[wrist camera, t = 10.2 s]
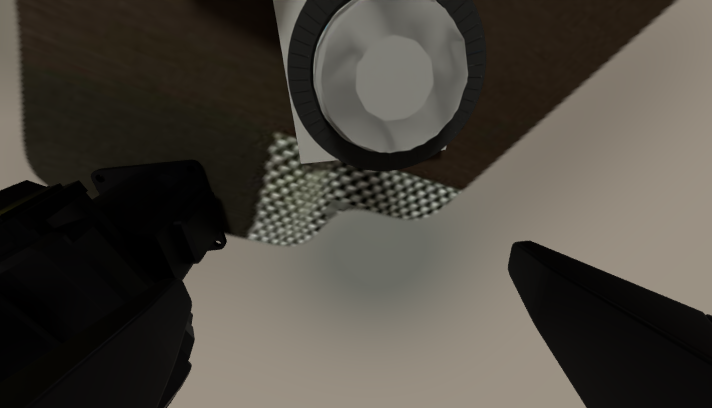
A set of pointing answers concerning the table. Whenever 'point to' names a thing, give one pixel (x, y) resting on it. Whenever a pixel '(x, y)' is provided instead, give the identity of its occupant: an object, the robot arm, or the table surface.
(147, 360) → the robot arm
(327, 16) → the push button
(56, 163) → the table surface
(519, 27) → the table surface
